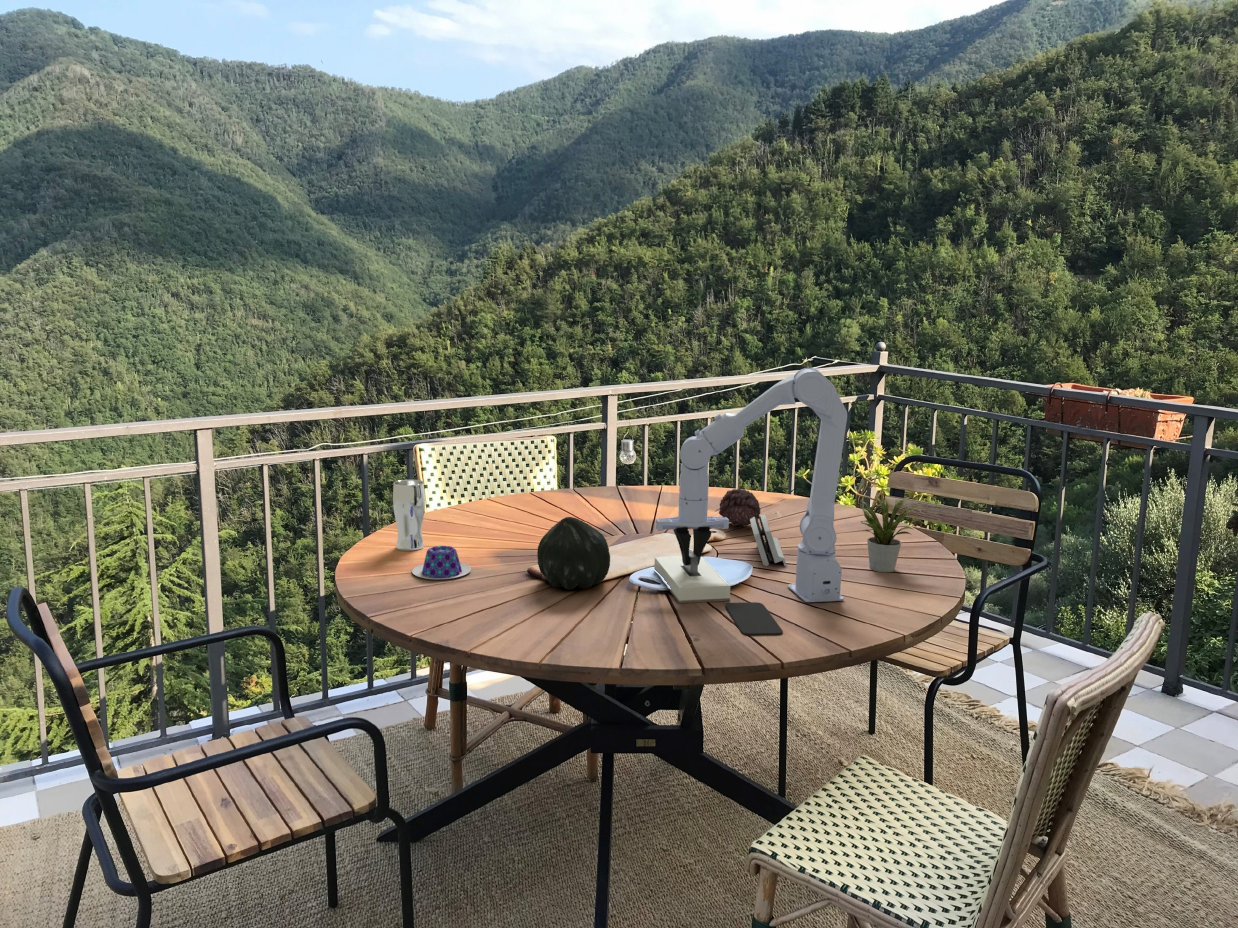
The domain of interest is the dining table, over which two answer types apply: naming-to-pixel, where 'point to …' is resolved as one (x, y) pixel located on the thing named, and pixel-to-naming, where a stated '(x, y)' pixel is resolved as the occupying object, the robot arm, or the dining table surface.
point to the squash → (573, 555)
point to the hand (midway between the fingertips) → (690, 563)
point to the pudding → (441, 564)
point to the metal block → (692, 564)
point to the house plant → (884, 536)
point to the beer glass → (409, 513)
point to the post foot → (692, 581)
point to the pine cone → (739, 507)
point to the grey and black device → (770, 544)
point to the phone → (753, 619)
